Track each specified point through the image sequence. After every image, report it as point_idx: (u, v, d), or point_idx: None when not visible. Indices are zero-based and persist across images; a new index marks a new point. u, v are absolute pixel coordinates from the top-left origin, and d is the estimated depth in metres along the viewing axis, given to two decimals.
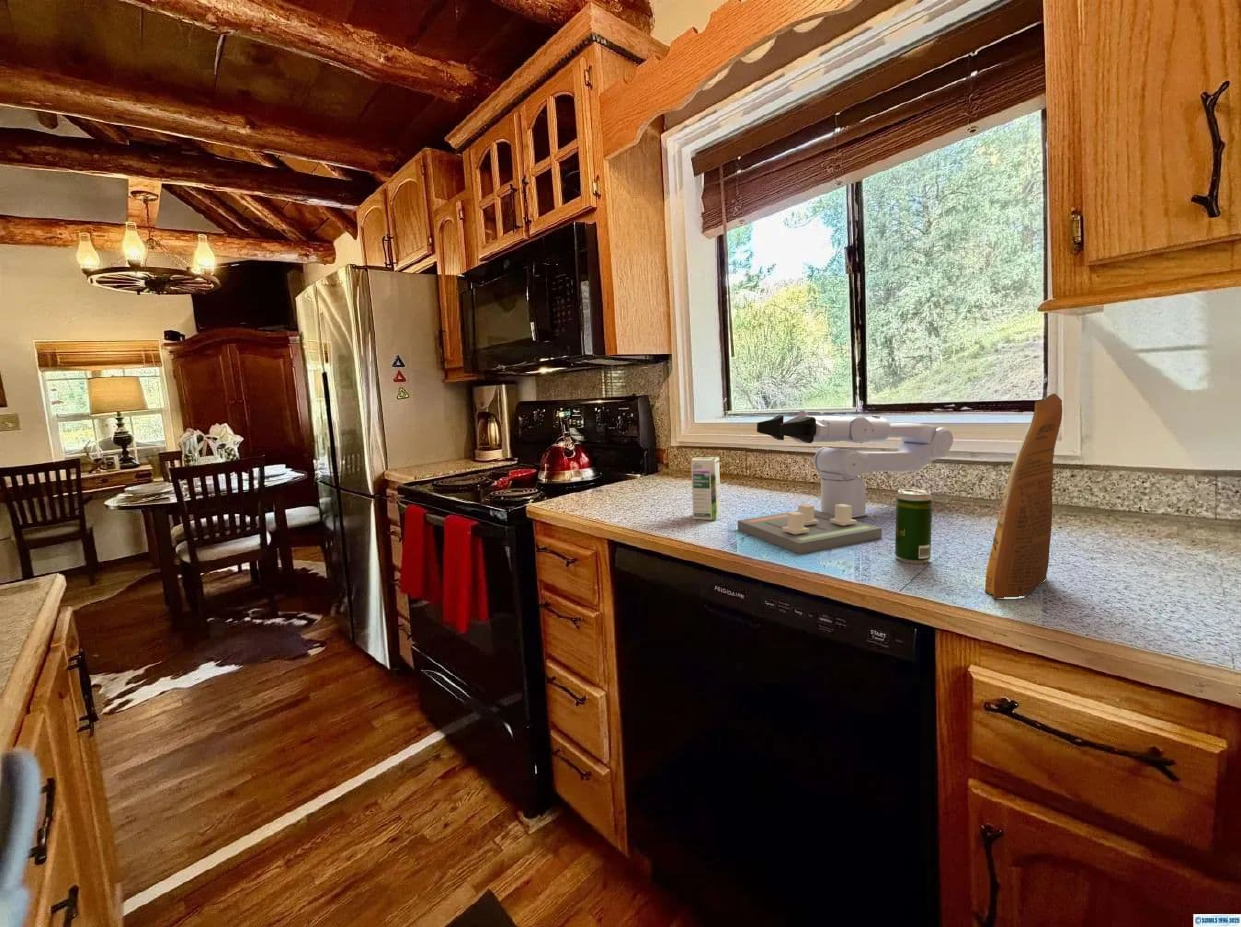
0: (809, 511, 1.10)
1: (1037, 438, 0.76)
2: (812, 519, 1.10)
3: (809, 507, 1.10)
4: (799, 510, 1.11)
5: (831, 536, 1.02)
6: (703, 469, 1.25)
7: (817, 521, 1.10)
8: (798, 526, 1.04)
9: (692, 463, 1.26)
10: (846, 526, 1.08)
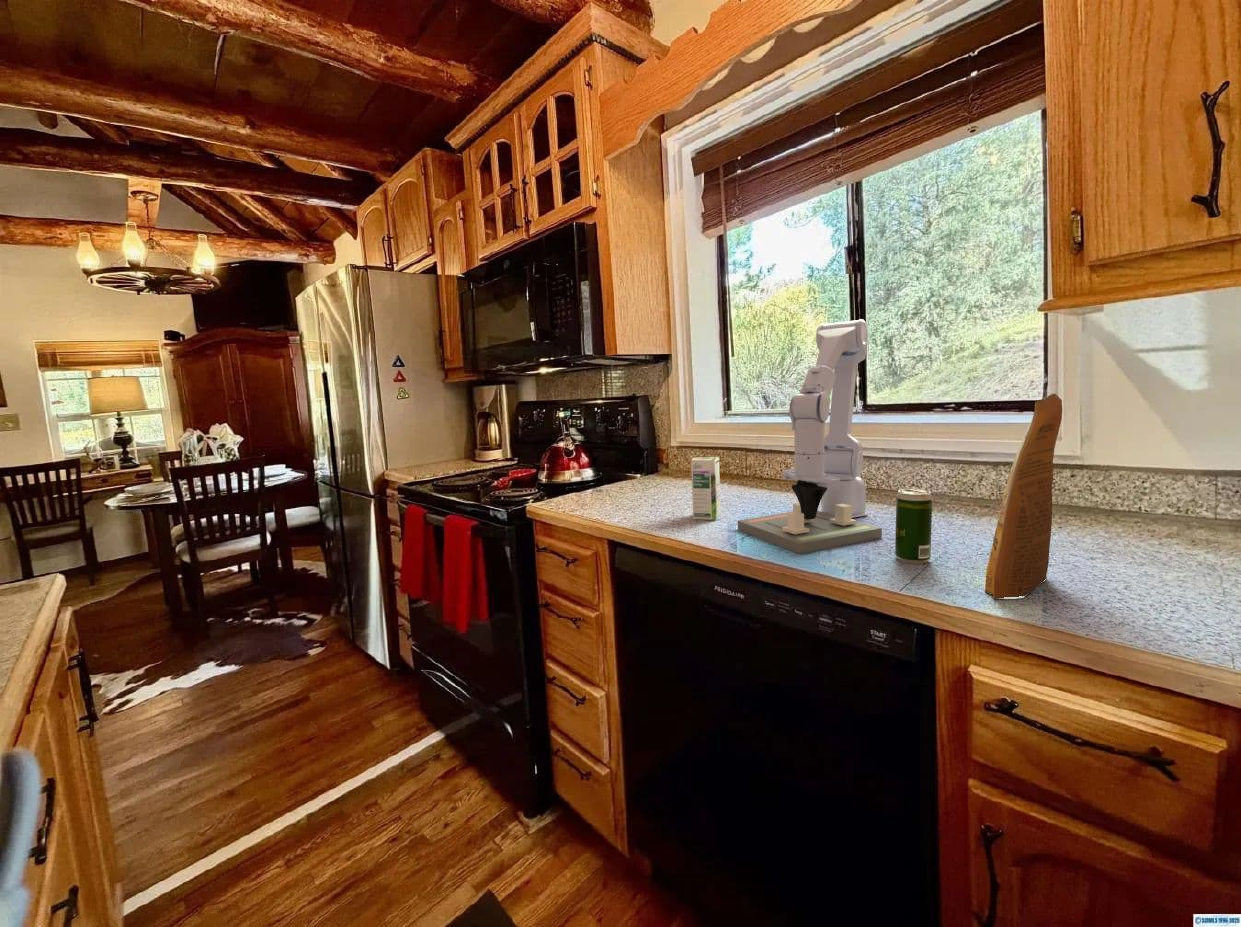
0: None
1: (1037, 438, 0.76)
2: None
3: None
4: (794, 509, 1.13)
5: (831, 536, 1.02)
6: (703, 469, 1.25)
7: (811, 519, 1.12)
8: (798, 526, 1.04)
9: (692, 463, 1.26)
10: (846, 526, 1.08)
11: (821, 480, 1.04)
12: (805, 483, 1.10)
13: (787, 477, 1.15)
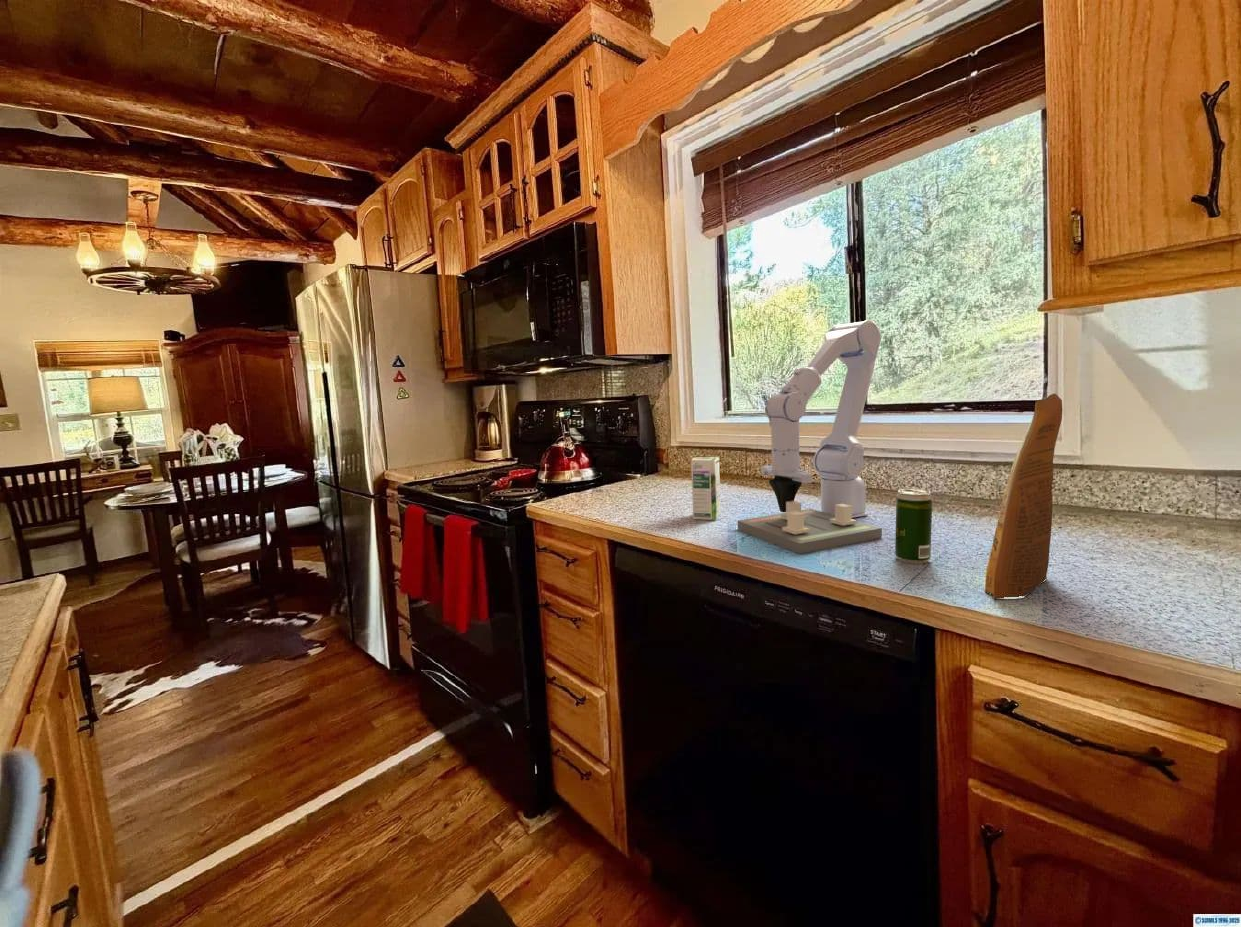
0: (796, 507, 1.13)
1: (1037, 438, 0.76)
2: None
3: (796, 504, 1.13)
4: (787, 506, 1.15)
5: (831, 536, 1.02)
6: (703, 469, 1.25)
7: (804, 517, 1.14)
8: (798, 526, 1.04)
9: (692, 463, 1.26)
10: (846, 526, 1.08)
11: (795, 475, 1.11)
12: (781, 478, 1.16)
13: (766, 472, 1.22)
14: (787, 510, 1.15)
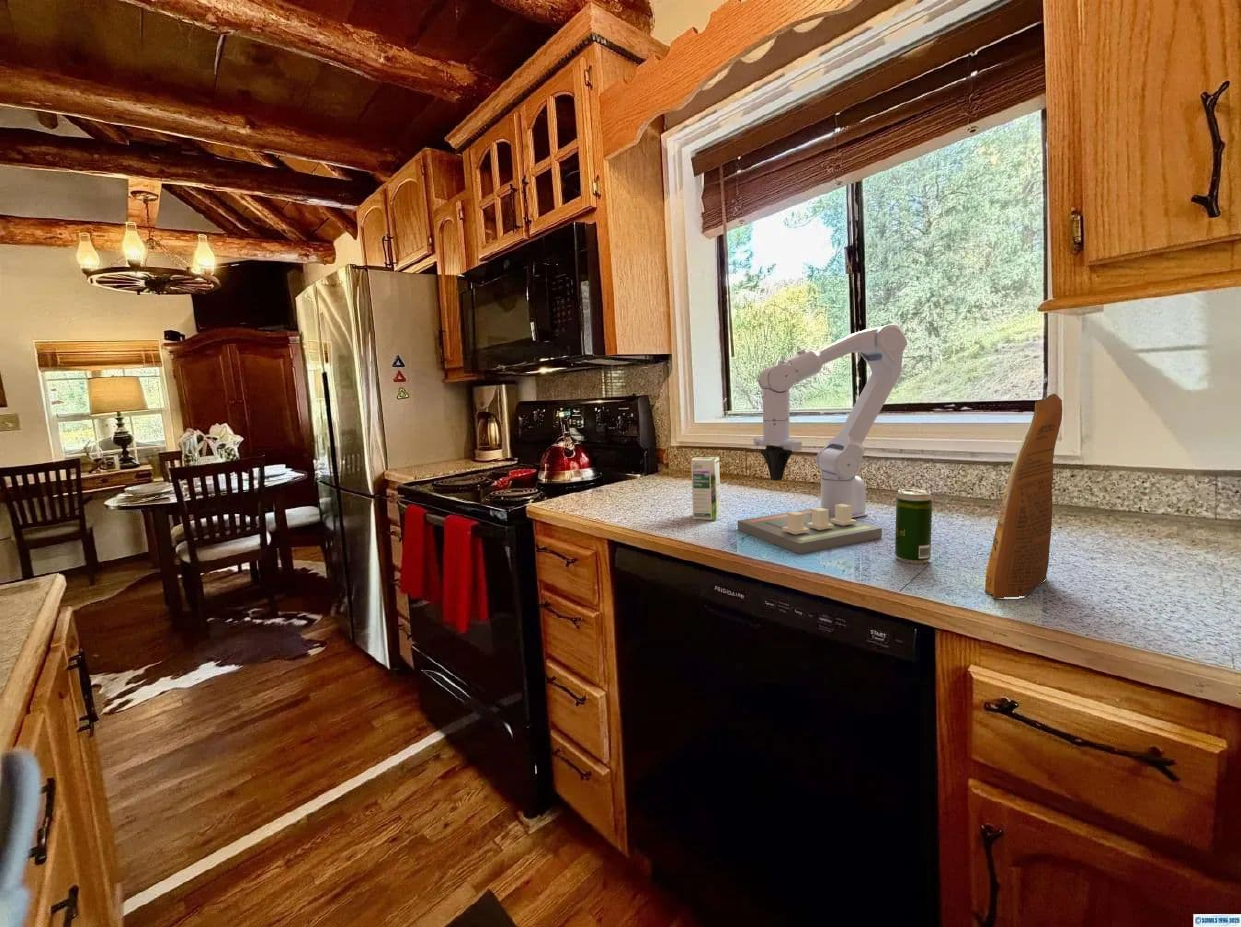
0: (824, 515, 1.06)
1: (1037, 438, 0.76)
2: (826, 523, 1.07)
3: (823, 511, 1.06)
4: (813, 514, 1.08)
5: (831, 536, 1.02)
6: (703, 469, 1.25)
7: (832, 525, 1.06)
8: (798, 526, 1.04)
9: (692, 463, 1.26)
10: (846, 526, 1.08)
11: (785, 443, 1.16)
12: (772, 447, 1.21)
13: (758, 443, 1.27)
14: (813, 518, 1.08)
